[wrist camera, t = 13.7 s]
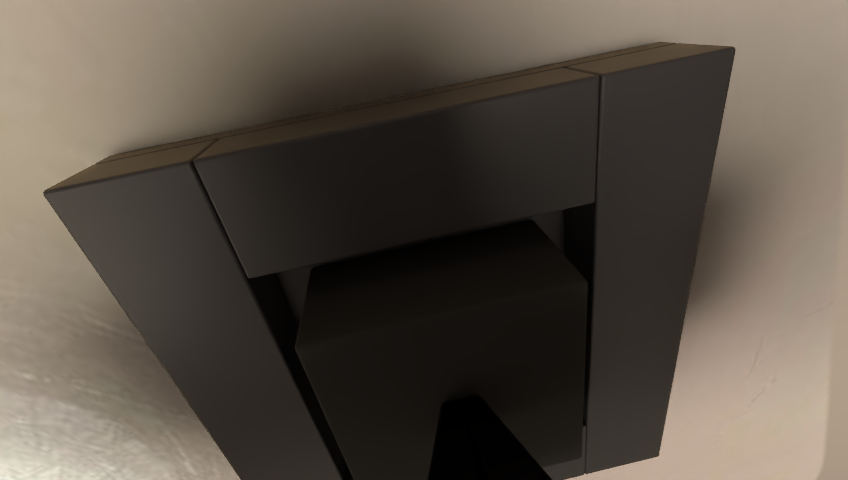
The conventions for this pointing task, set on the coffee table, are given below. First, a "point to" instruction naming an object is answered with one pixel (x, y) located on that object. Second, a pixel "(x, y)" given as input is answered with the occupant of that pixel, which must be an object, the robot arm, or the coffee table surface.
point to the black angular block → (447, 346)
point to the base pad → (415, 234)
